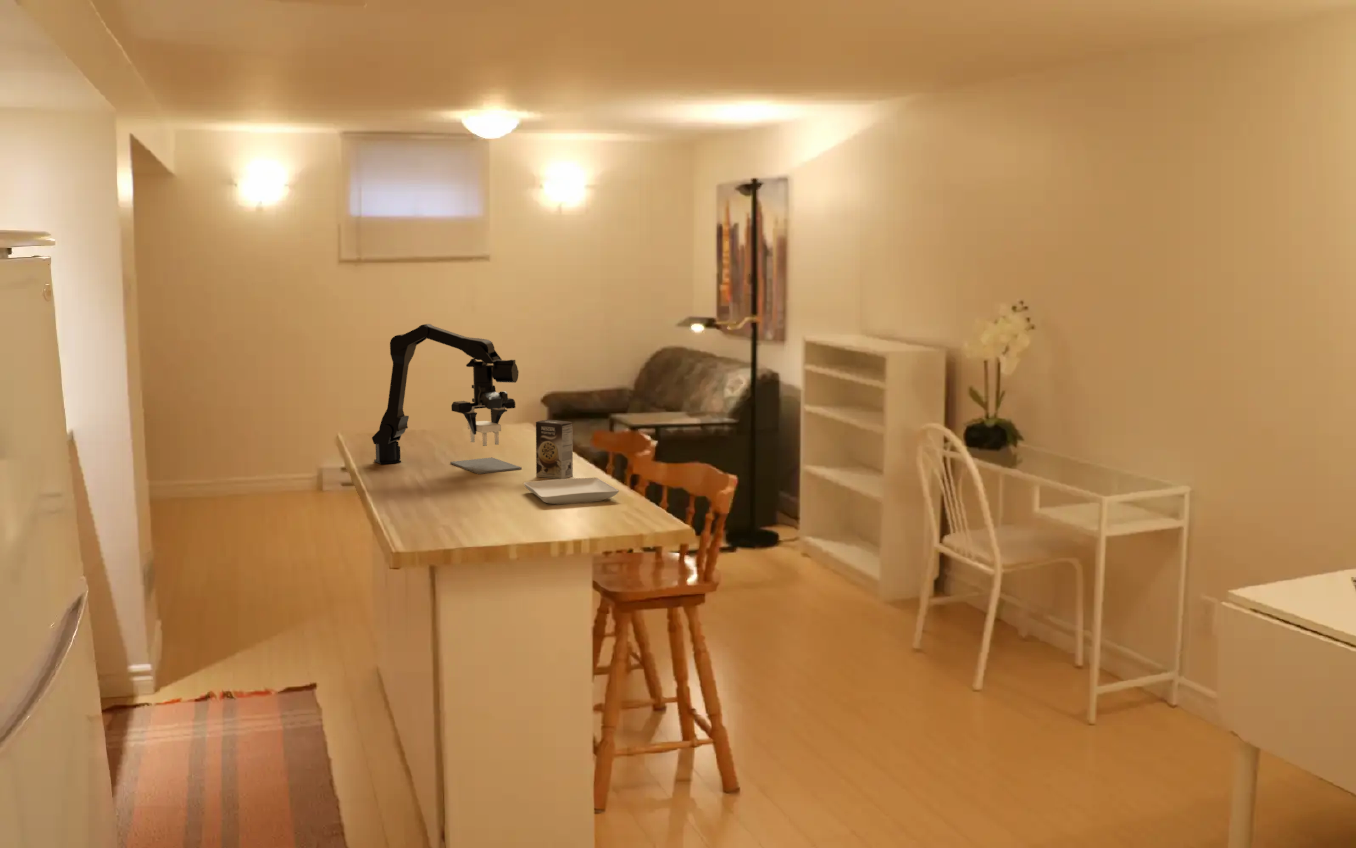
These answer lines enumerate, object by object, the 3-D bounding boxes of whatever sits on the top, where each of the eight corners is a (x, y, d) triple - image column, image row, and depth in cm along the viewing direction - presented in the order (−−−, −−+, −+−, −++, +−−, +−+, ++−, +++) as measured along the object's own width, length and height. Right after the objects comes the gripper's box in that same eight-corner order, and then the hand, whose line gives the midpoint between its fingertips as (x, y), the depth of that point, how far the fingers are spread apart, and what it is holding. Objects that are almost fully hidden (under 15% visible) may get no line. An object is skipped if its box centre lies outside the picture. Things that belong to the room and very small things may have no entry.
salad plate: (522, 493, 325) (522, 480, 324) (597, 487, 332) (597, 475, 332) (541, 509, 305) (541, 496, 305) (620, 503, 313) (620, 490, 312)
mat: (478, 474, 349) (478, 472, 349) (450, 463, 365) (450, 461, 365) (521, 469, 357) (521, 467, 357) (492, 459, 373) (492, 457, 373)
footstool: (468, 442, 362) (467, 422, 361) (486, 440, 366) (485, 420, 365) (483, 446, 354) (482, 426, 353) (501, 444, 358) (501, 424, 357)
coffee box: (535, 476, 345) (534, 421, 343) (547, 473, 351) (547, 418, 349) (561, 479, 341) (561, 424, 339) (573, 476, 347) (573, 421, 345)
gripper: (466, 386, 345) (468, 439, 348) (523, 382, 356) (524, 434, 358) (450, 383, 354) (451, 435, 356) (506, 378, 365) (507, 429, 367)
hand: (484, 433), depth 359 cm, fingers closed on footstool, 6 cm apart
